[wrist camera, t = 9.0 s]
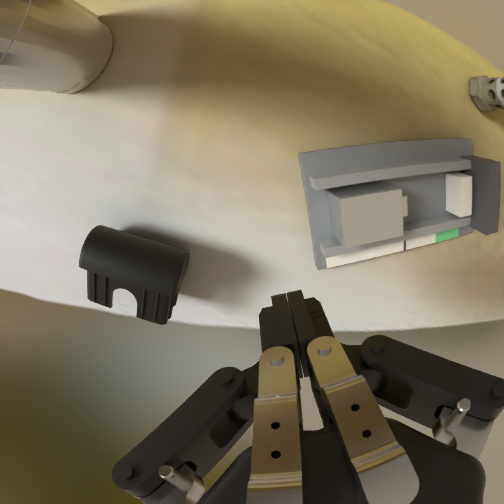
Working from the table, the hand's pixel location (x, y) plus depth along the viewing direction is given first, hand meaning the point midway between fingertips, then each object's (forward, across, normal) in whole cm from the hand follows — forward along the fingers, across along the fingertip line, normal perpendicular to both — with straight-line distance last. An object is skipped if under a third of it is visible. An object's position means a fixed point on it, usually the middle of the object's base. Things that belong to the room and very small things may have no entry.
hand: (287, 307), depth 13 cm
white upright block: (+14, -22, 0) cm, 26 cm away
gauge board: (+15, -15, 0) cm, 21 cm away
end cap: (+16, +14, +2) cm, 21 cm away
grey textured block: (+14, -10, 0) cm, 17 cm away
